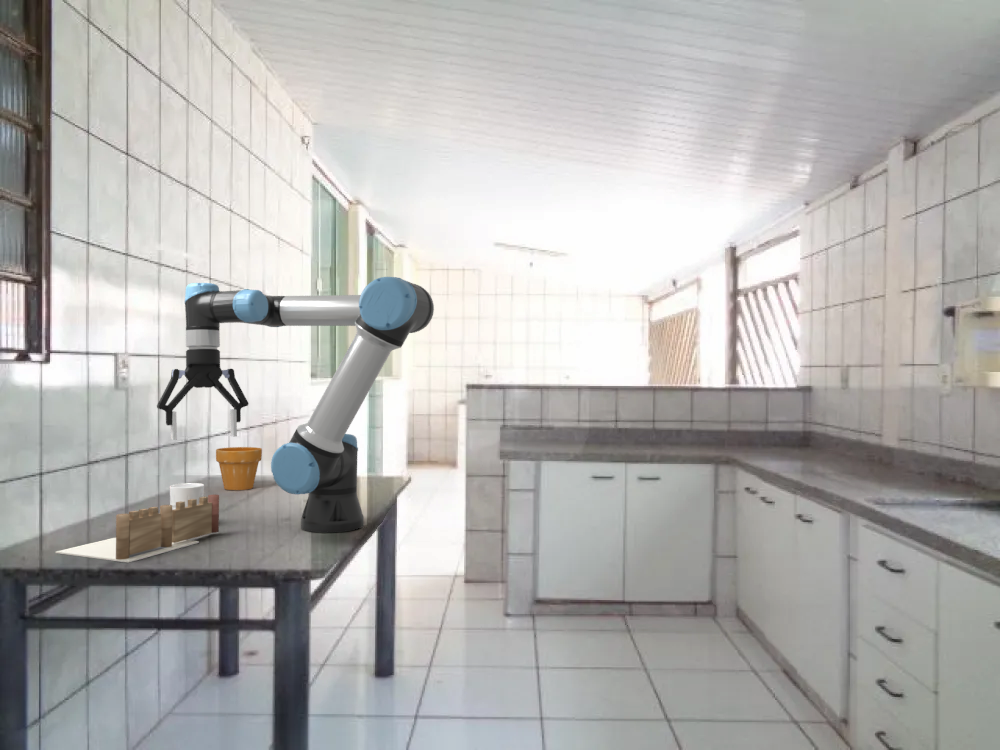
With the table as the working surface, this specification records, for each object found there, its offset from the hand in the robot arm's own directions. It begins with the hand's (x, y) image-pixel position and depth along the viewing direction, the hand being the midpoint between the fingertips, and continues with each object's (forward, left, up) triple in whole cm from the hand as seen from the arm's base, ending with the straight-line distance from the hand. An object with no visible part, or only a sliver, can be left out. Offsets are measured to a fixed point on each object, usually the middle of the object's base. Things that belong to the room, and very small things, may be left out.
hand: (204, 438), depth 177 cm
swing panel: (-5, +8, -21) cm, 23 cm away
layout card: (+2, +20, -22) cm, 30 cm away
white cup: (+8, -3, -22) cm, 24 cm away
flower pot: (+38, -57, -22) cm, 72 cm away
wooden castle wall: (-5, +22, -22) cm, 32 cm away
